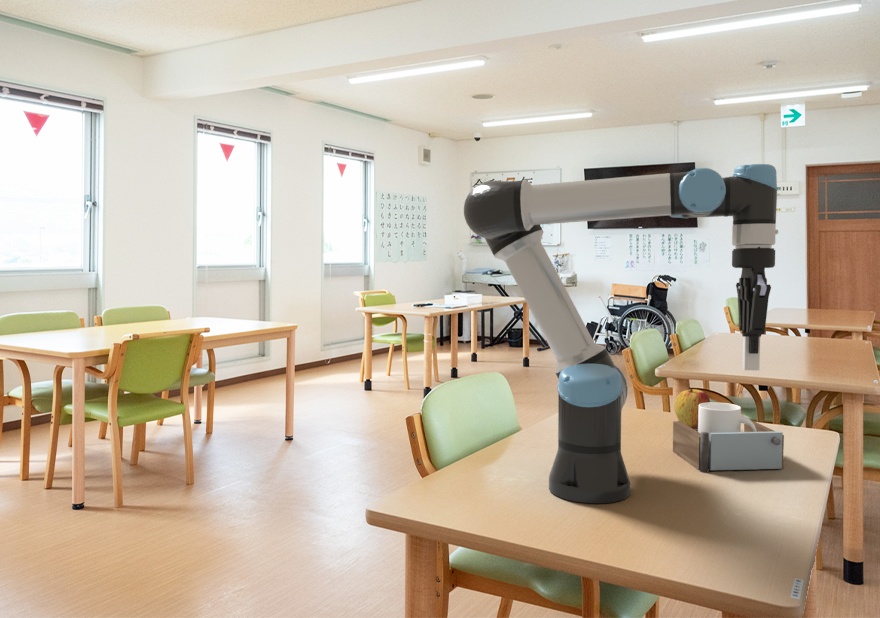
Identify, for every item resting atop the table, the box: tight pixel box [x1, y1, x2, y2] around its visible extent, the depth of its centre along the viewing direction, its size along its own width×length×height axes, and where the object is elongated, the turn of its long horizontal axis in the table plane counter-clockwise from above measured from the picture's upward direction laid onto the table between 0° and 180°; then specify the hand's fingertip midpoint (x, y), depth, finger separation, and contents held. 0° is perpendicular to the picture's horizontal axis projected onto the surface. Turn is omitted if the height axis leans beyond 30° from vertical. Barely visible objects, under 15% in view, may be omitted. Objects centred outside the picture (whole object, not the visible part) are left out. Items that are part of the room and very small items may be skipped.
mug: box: [697, 401, 757, 457], centre depth 150 cm, size 9×12×11 cm
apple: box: [673, 388, 711, 429], centre depth 181 cm, size 9×9×10 cm
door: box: [709, 430, 784, 471], centre depth 143 cm, size 15×2×8 cm, turn 93°
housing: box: [672, 419, 785, 473], centre depth 150 cm, size 18×16×8 cm
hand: (750, 369), depth 134 cm, fingers closed
